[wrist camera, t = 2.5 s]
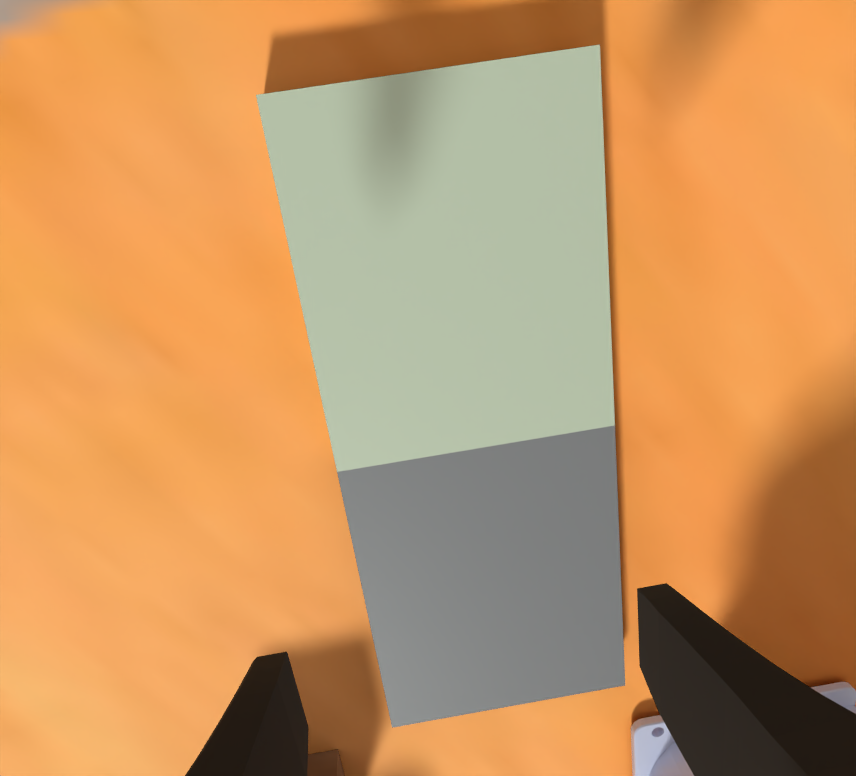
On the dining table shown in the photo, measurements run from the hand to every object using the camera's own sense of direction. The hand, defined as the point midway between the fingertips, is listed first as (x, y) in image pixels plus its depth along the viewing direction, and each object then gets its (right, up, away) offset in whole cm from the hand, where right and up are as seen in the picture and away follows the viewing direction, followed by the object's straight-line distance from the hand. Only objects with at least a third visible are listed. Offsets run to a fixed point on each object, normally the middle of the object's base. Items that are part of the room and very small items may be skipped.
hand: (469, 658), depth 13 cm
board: (+1, +4, +9) cm, 10 cm away
